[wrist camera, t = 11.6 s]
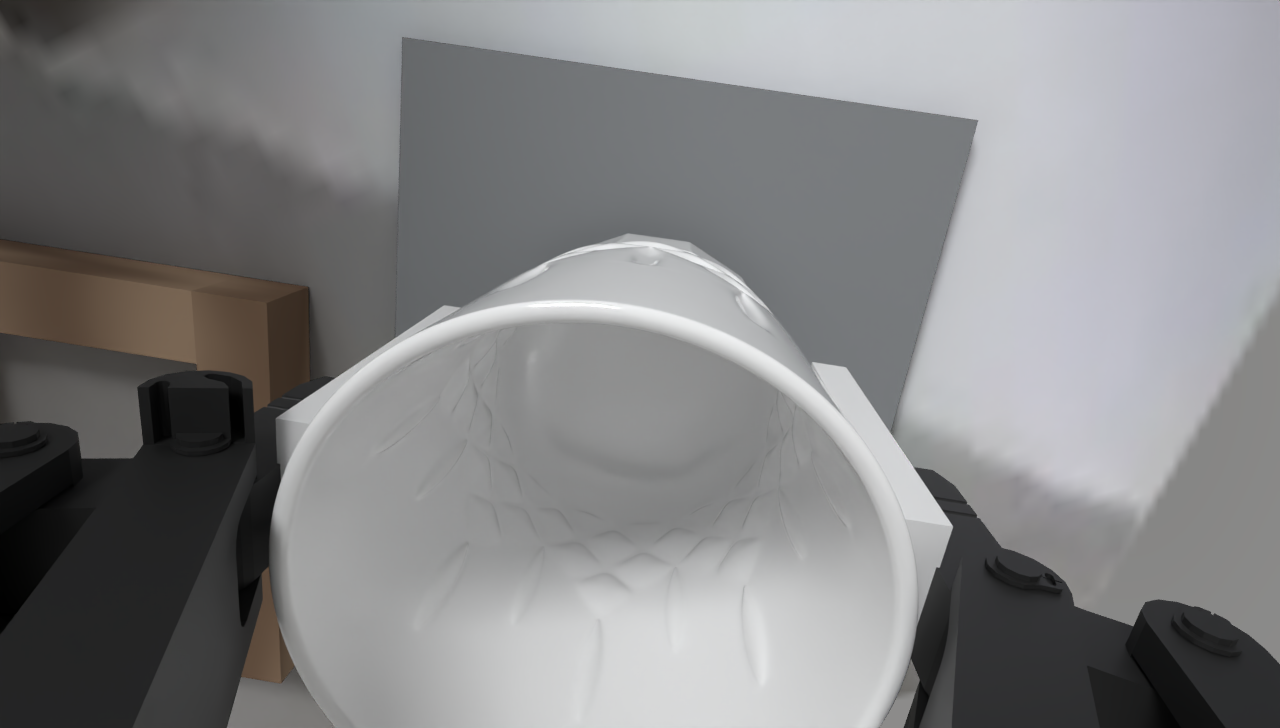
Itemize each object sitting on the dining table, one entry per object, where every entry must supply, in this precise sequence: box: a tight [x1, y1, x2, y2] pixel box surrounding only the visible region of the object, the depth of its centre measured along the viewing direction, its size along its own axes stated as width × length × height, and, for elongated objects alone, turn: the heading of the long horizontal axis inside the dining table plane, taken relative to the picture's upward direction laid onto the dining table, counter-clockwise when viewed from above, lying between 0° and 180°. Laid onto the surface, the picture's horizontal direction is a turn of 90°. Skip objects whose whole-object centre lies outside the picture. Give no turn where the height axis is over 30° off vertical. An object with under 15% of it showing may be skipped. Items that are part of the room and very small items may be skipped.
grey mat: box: [395, 37, 978, 432], centre depth 19 cm, size 14×14×1 cm
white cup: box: [269, 233, 918, 728], centre depth 13 cm, size 8×8×10 cm
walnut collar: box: [0, 239, 310, 683], centre depth 21 cm, size 12×12×2 cm
